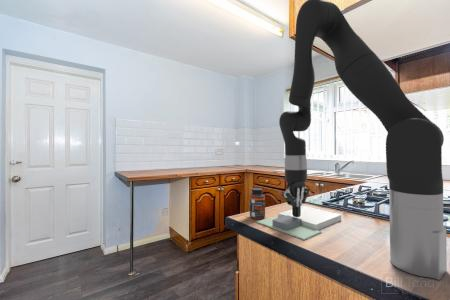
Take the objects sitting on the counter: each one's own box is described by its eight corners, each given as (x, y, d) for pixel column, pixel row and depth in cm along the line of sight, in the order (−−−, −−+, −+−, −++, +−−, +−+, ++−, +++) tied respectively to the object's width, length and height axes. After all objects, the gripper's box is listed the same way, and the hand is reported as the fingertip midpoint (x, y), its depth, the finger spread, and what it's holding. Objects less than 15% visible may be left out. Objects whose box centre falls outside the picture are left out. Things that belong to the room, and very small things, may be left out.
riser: (341, 220, 83) (341, 214, 83) (316, 230, 73) (315, 224, 73) (303, 210, 96) (303, 205, 96) (278, 218, 86) (277, 213, 86)
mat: (321, 232, 72) (321, 231, 72) (304, 240, 66) (304, 238, 66) (273, 217, 88) (273, 216, 88) (256, 222, 83) (256, 221, 83)
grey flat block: (301, 225, 78) (301, 219, 78) (286, 230, 73) (286, 224, 73) (287, 220, 83) (287, 215, 82) (272, 225, 78) (272, 219, 78)
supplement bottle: (254, 220, 84) (254, 190, 84) (247, 216, 90) (246, 188, 90) (268, 218, 87) (267, 189, 86) (260, 214, 92) (259, 186, 92)
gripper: (292, 170, 73) (293, 223, 73) (316, 167, 81) (317, 215, 81) (274, 168, 79) (275, 217, 79) (298, 165, 87) (299, 210, 87)
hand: (296, 216), depth 80 cm, fingers closed
